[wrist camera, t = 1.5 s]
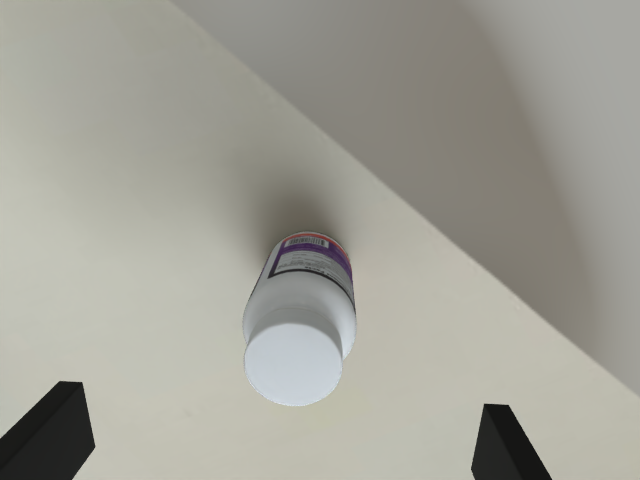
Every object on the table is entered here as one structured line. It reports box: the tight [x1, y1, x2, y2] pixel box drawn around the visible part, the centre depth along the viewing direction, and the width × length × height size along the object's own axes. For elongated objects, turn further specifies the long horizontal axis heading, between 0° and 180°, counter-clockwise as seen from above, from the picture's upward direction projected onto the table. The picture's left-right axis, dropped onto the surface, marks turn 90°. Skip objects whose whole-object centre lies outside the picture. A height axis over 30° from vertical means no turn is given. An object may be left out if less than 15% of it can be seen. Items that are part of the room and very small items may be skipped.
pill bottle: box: [243, 232, 356, 406], centre depth 20 cm, size 5×5×10 cm
